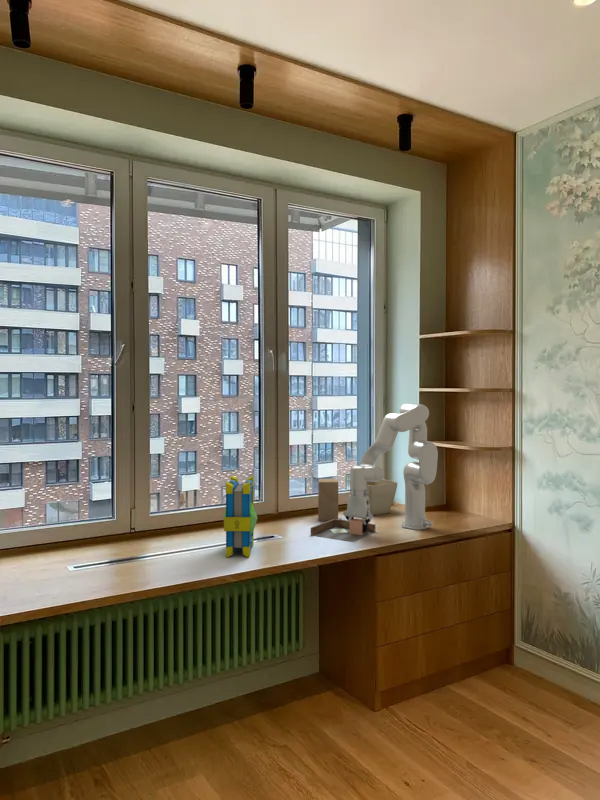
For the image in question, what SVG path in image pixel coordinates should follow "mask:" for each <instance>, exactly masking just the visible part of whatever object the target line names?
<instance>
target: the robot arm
mask: <svg viewBox="0 0 600 800" xmlns="http://www.w3.org/2000/svg"><path fill="white" fill-rule="evenodd" d="M429 416H430V410H429V408H428V406H426V405H424V404H423V403H422V404H421V403H404V404H402V405H401V406H400V407H399V413H395V412H391V413H387V414H386V415H384V417H383V420H382V422H381V426H380V428H379V430H378V433H377V435H376V438H375V440H374V442H373V443H372V444H371V445H370V446H369V448H367V450H366V451H365V453H364V454H363V456H362V457H361V460H360V463H359V465H353V466H351V467H350V470H349V473H350V474H349V475H350V476H349V477H350V478H349V489H350V491H349V495H348V498H347V504H346V510H344V512H343V513H342V515H343V516H344V517H345V518H346V519H345V520H348V522H349V520H352V519H354V518H359V519H362V520H363V533H366V532H367V524H368V523H369V522H371V521H372V520H373V519H374V518H375V517H374V515H372V514H371V512H370V503H369V498H368V496H366V495H367V494H369V491H367V489H366V483H367V481H371V482H378V481H380V480H382V479H384V477H385V471H384V469H383V468H382V467H381V466H379V465H375V463H376V462H377V460H378V458H380V456H382V455H383V454H385V453H386V452H389V451H390V450H392V448H393V446H394V444H395V441H396V439H397V436H398V433H399V432H400V433H405V432H409V434H408V435H409V436H408V445H407V446H408V448H407V453H408V456H409V457H410V458H411V459H415V460H418V461H409V462H407V463H406V464H405V466H404V467H403V479H404V493H405V494H404V508H405V509H404V522H402V523H401V527H402V528H404V529H407V530H415V531H416V530H419V531H420V530H426V529H428V528H429V527H432V526H433V525H434V522H433V521H432V520H428V518H427V517H426V488H425V485H430V484H432V483H433V482H434V481H435V479H436V476H437V470H438V459H439V457H438V456H439V452H438V448H437V445H436V444H435V443H434V442H432V441H429V440H428V426H427V423H426V421H427V420H428V418H429ZM369 524H370V523H369Z"/></svg>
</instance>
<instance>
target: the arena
mask: <svg viewBox="0 0 600 800" xmlns="http://www.w3.org/2000/svg"><path fill="white" fill-rule="evenodd" d="M376 531H377V530H376V523H375V524H374V523H368V524H367V533H365V534H362V535H357V534H350V533H349V522H348V520H347V519H340V518H338V519H332V520H329V521H323V522H322V523H319V524H316V525H314V526H311V527H310V536H312V537H318V538H324V539H329V540H334V541H336V540H337V541H342V542H349V543H356V542H358V541H359V540H362V539H364V538H366V537H368V536H371V535H372V534H375V533H376Z"/></svg>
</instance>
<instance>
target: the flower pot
mask: <svg viewBox="0 0 600 800" xmlns="http://www.w3.org/2000/svg"><path fill="white" fill-rule="evenodd" d="M366 489H367V491H369V494H367V495H366V496H368V498H369V503H370V512H371V514H372V515H373V516H374V515H383V514H388V513H390V510H391V509H392V506H393V503H394V499H395V496H396V494H397V493H396V492H397V489H398V482H396V481H393V480H388V479H385V478H383V479H382V480H380V481H378V482H371V481H367V483H366Z"/></svg>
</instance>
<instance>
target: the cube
mask: <svg viewBox="0 0 600 800" xmlns="http://www.w3.org/2000/svg"><path fill="white" fill-rule="evenodd" d="M349 533H350V534H357V535H362V534H365V533H363V520H362V518H356V517H354V519H352V520H349ZM366 533H367V532H366Z"/></svg>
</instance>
